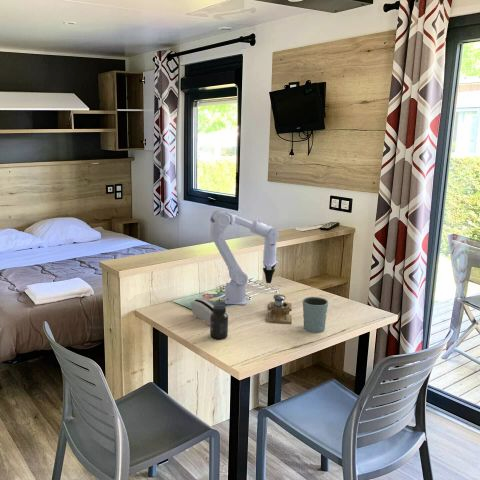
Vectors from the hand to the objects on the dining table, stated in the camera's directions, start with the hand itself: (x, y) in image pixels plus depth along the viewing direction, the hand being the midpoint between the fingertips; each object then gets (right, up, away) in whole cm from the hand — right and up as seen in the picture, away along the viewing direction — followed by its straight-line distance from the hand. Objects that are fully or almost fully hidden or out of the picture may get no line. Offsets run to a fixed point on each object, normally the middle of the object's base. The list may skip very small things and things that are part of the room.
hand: (268, 280), depth 231 cm
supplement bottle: (-22, -19, -41) cm, 50 cm away
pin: (+3, -13, -15) cm, 20 cm away
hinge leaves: (+4, -13, -15) cm, 20 cm away
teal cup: (+16, -17, -31) cm, 39 cm away
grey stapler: (-28, -15, -25) cm, 40 cm away
